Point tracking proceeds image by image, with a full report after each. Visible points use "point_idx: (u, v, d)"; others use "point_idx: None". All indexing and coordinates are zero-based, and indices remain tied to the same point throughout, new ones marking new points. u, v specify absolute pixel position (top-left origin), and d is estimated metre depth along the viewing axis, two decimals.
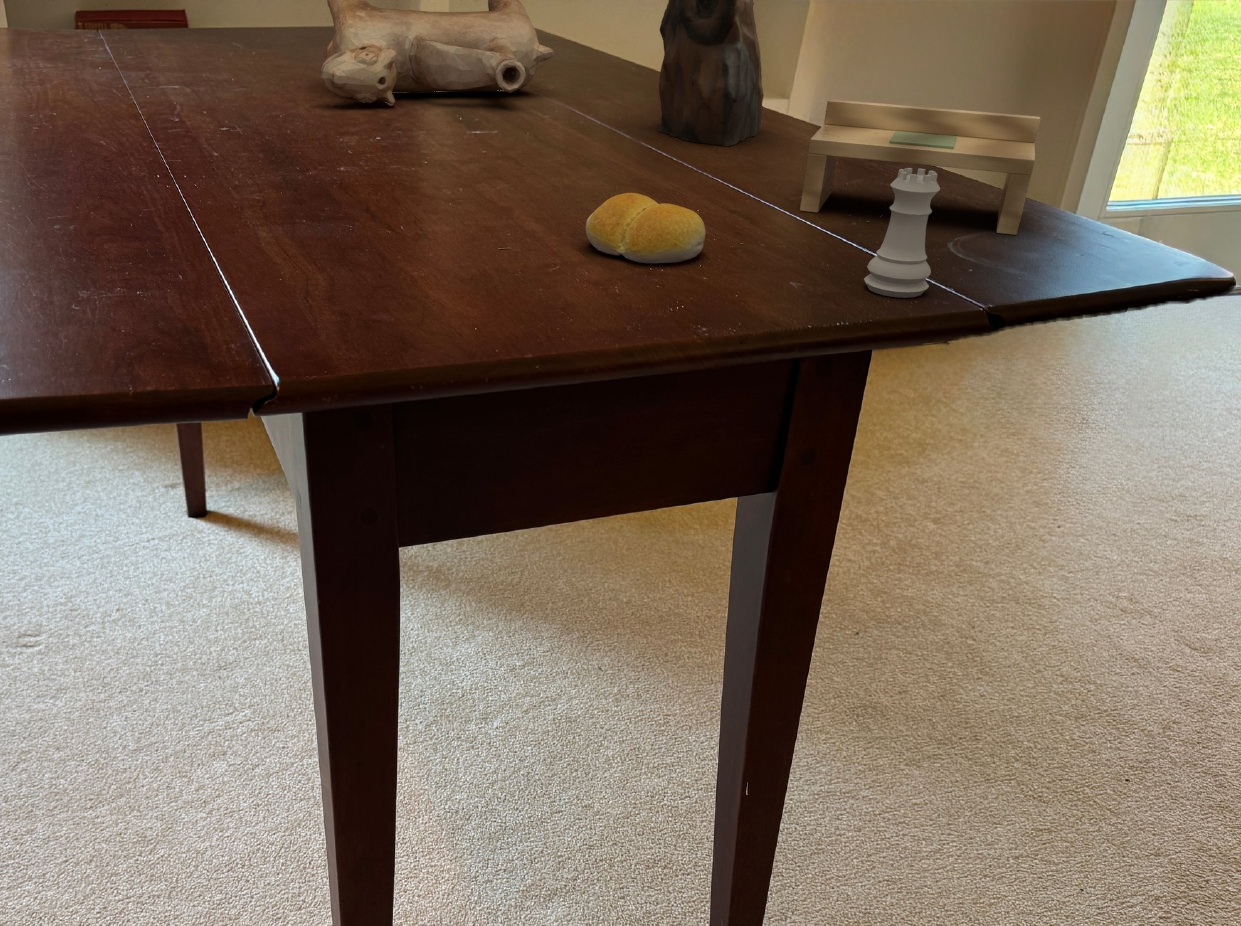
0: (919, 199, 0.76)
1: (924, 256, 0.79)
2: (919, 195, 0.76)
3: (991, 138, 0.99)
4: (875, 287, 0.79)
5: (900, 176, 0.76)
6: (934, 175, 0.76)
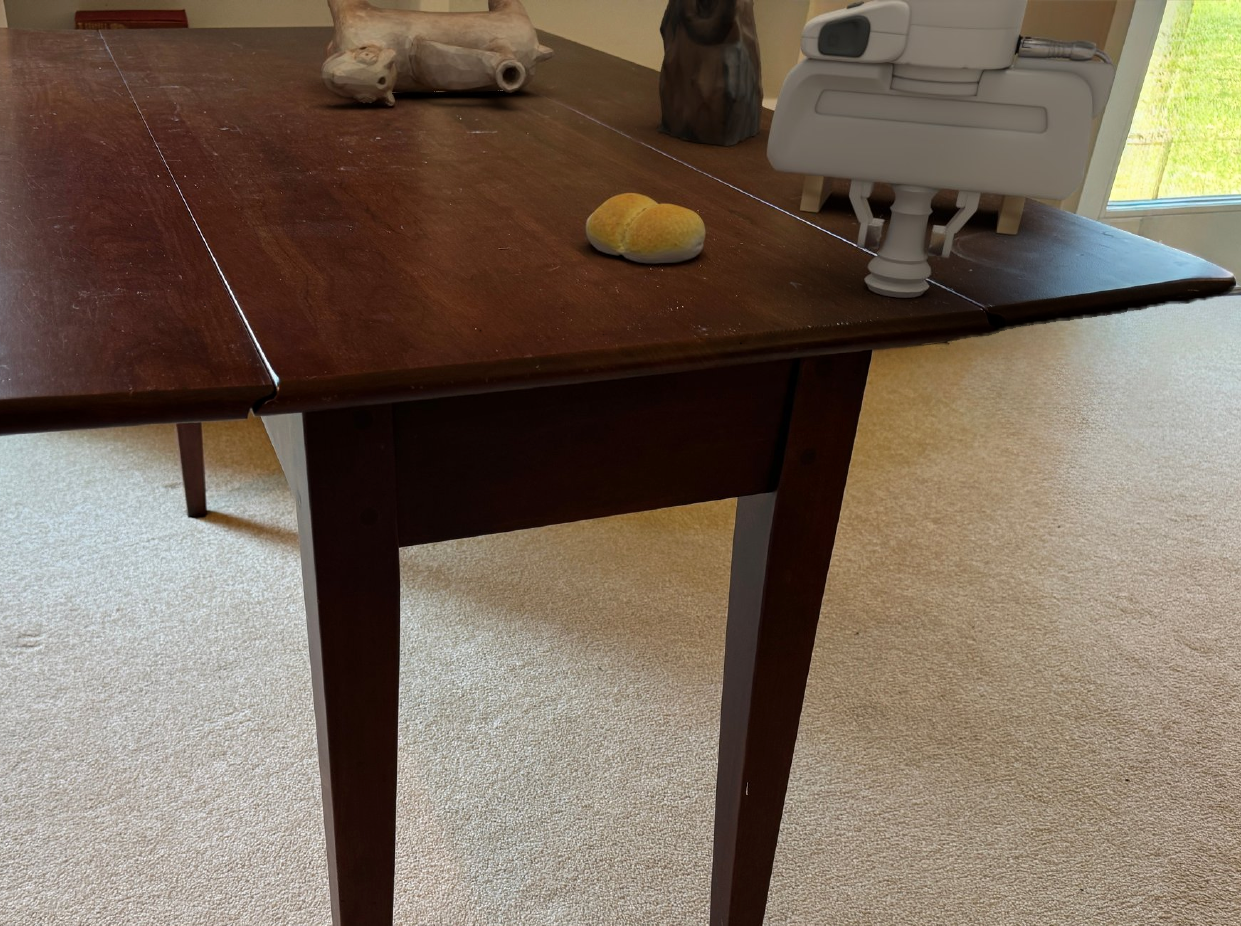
0: (920, 199, 0.76)
1: (925, 256, 0.79)
2: (919, 195, 0.76)
3: None
4: (875, 287, 0.79)
5: None
6: None
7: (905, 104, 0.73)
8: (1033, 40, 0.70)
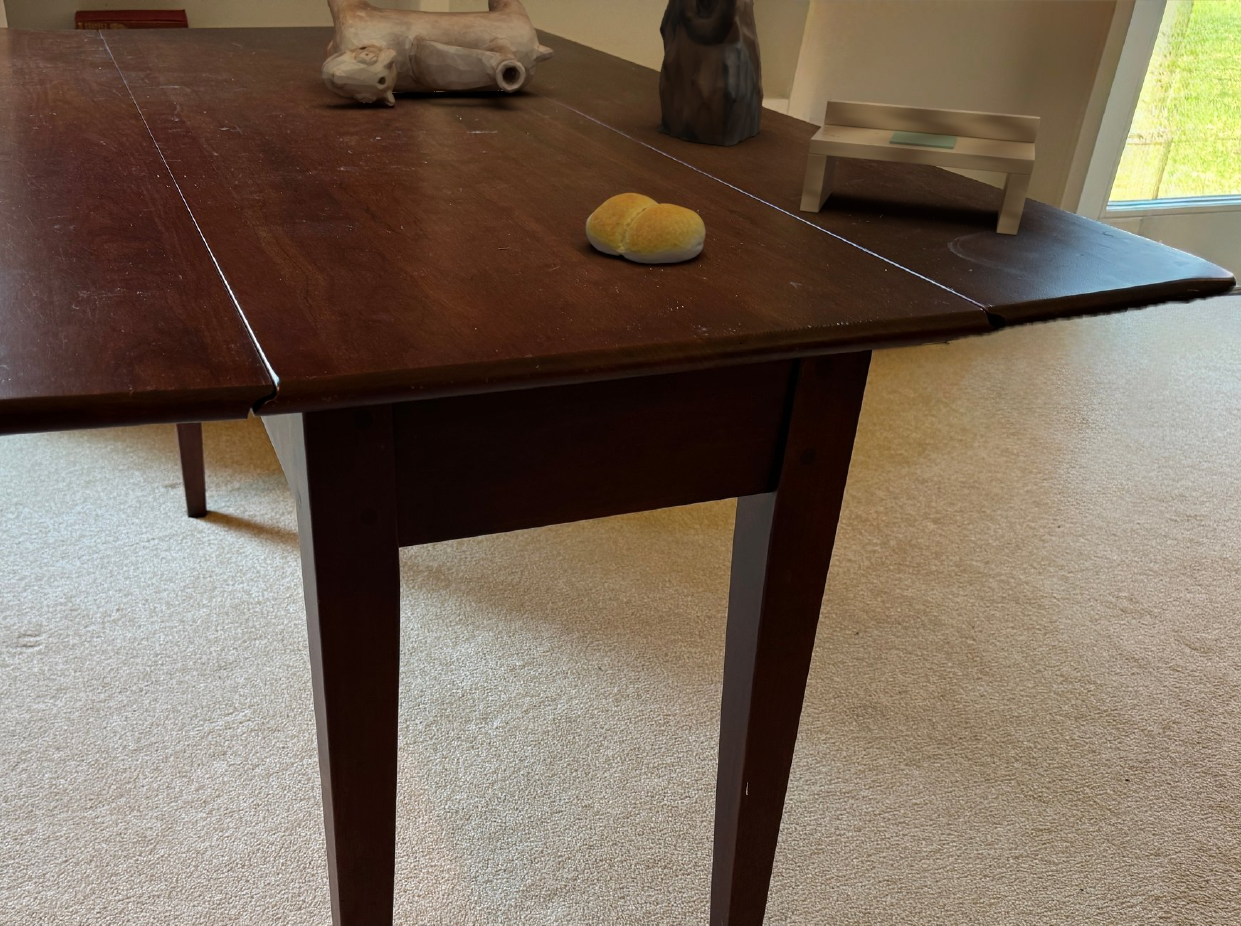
0: None
1: None
2: None
3: (991, 138, 0.99)
4: None
5: None
6: None
7: None
8: None
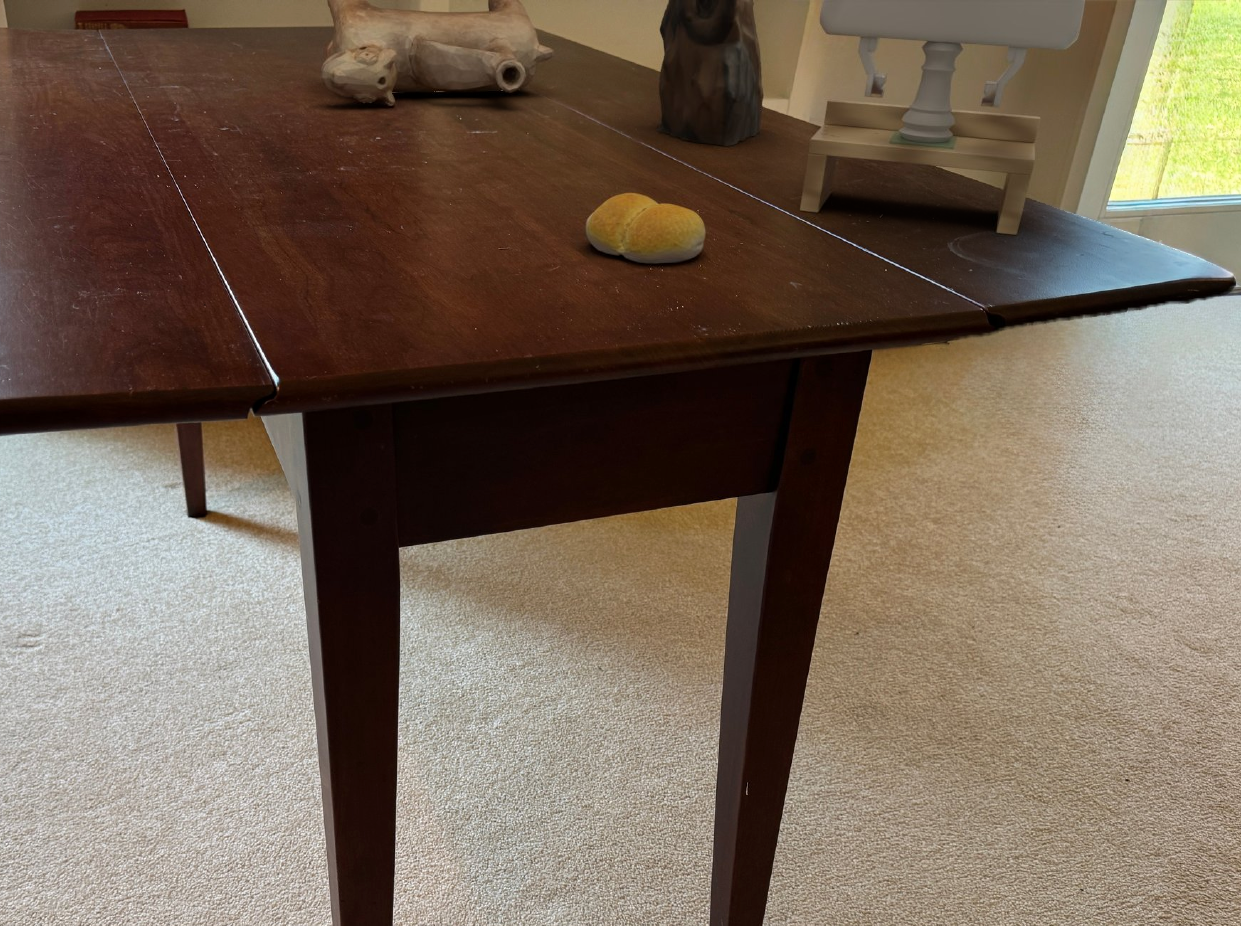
0: (946, 57, 0.93)
1: (949, 108, 0.95)
2: (945, 53, 0.93)
3: (991, 138, 0.99)
4: (909, 134, 0.96)
5: None
6: None
7: None
8: None
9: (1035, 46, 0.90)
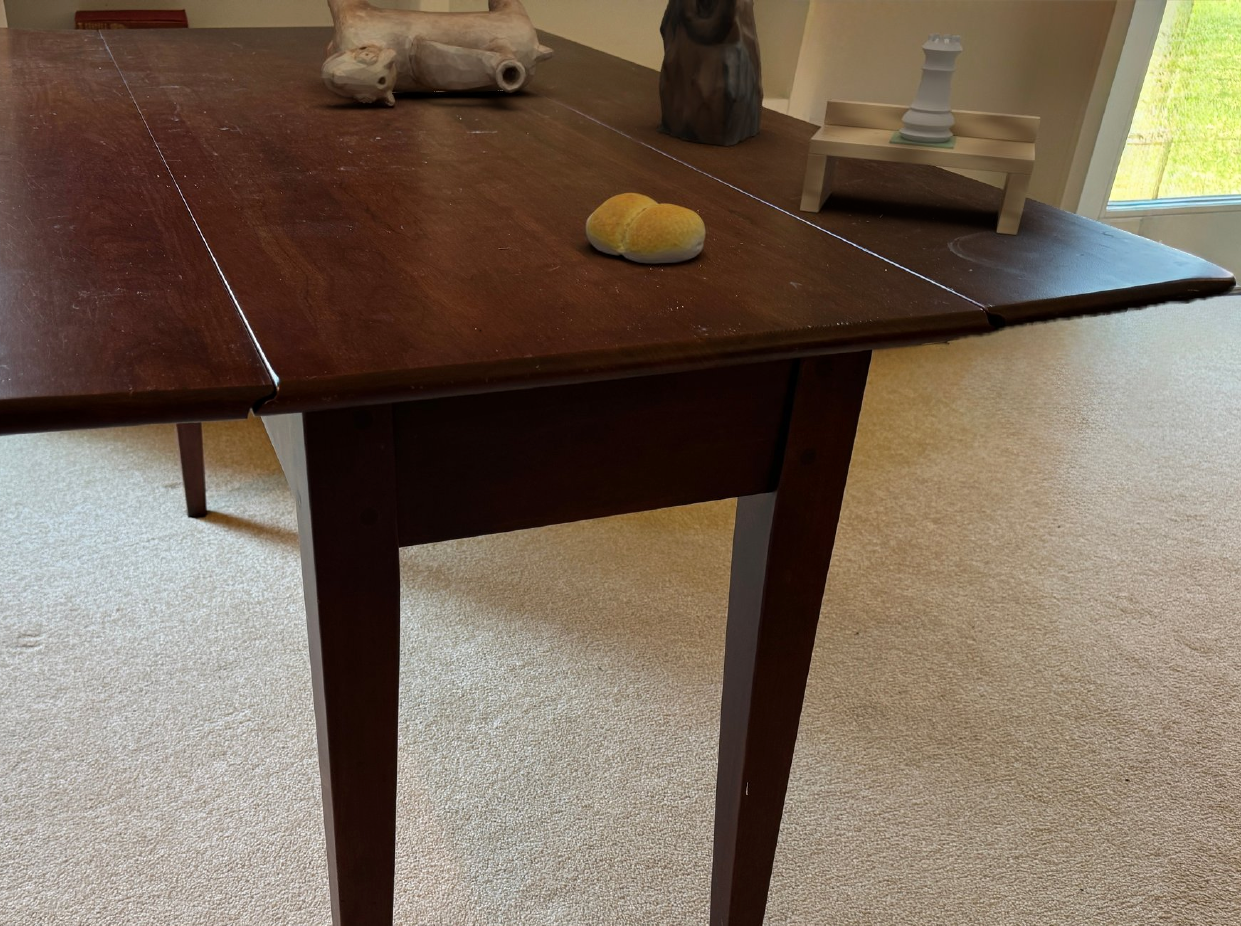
0: (946, 57, 0.93)
1: (949, 108, 0.95)
2: (945, 53, 0.93)
3: (991, 138, 0.99)
4: (909, 134, 0.96)
5: (930, 39, 0.93)
6: (958, 37, 0.93)
7: None
8: None
9: None
